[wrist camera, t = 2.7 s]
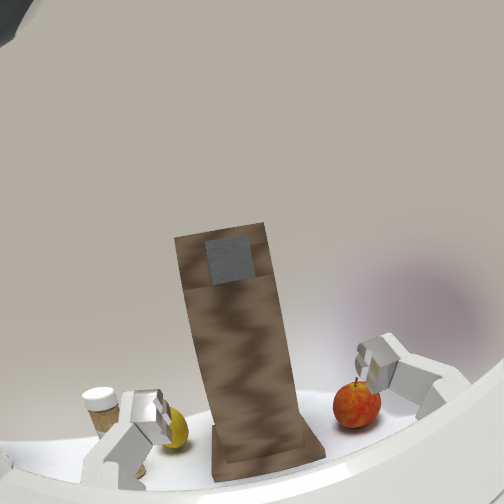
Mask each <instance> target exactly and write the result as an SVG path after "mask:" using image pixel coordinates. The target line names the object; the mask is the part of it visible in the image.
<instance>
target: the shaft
mask: <svg viewBox="0 0 504 504" xmlns="http://www.w3.org/2000/svg"><path fill="white" fill-rule="evenodd" d="M205 246H206V252H207V258H208V263H209V269H210V274H211V280H212V285H218V284H223V283H229V282H234V281H239V280H244V279H248V278H252V277H256V275H255V270H254V265H253V260H252V255H251V250H250V244H249V239H248V234H244V235H238V236H233V237H227V238H221V239H215V240H210V241H205Z"/></svg>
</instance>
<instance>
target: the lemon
mask: <svg viewBox="0 0 504 504" xmlns="http://www.w3.org/2000/svg"><path fill="white" fill-rule="evenodd" d="M170 411H171V418H172V422H171V423H170V424H169V427H170V428H171V430H172V444H162V445H164V446H166V447H169V448H175V449H178V448H179V447H180V446H182V445H183V444H184V443H185V442H186V440H187V438H188V427H187V423H186V421H185V419H184V417H183V416H182V415H181V413H180V412H179V411H177V410H176V409H174V408H171V407H170Z"/></svg>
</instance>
